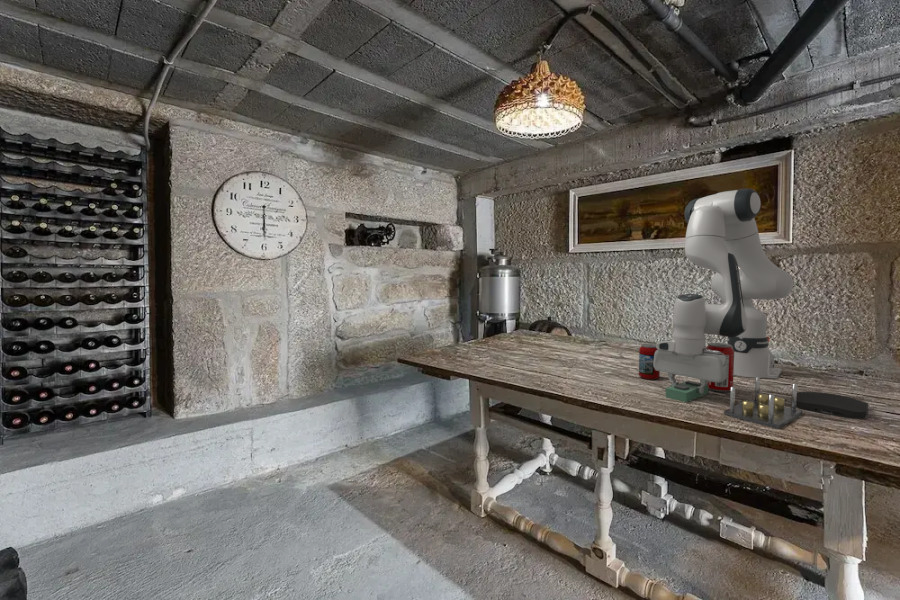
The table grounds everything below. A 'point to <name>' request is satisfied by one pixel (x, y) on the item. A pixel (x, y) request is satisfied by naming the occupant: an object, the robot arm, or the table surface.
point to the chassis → (764, 408)
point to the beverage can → (647, 362)
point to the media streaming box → (832, 404)
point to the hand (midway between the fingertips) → (687, 390)
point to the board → (685, 391)
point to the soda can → (729, 366)
